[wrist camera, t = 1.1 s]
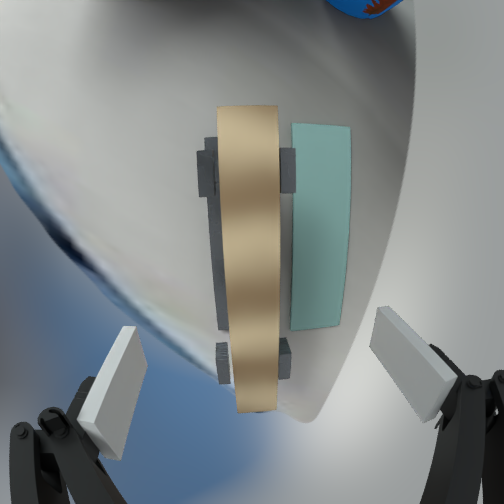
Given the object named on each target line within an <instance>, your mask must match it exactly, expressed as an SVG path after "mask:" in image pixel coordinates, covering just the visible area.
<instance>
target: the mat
mask: <svg viewBox="0 0 504 504" xmlns="http://www.w3.org/2000/svg"><path fill="white" fill-rule="evenodd" d="M291 135H292V148H296V193H293V236H292V286H291V314H290V330H291V331H297V330H306V329H314V328H322V327H329V326H336V325H339V323H340V316H341V308H342V300H343V292H344V283H345V274H346V263H347V251H348V238H349V221H350V196H351V136H350V127H344V126H333V125H319V124H301V123H292V124H291Z"/></svg>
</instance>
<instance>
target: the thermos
mask: <svg viewBox="0 0 504 504" xmlns="http://www.w3.org/2000/svg"><path fill="white" fill-rule="evenodd" d="M326 1H327V2H329V3H330V4H331V5H332V6H334V7H335V8H336V9H338V10H340V11H342V12H344V13H346V14H348V15H351V16H354V17H357V18H360V19H372V18H375V17H378V16H380V15H382V14H383V13H385V12H386V11H388V10H390V9H391V8H393V7H394V6H396V5H397V4H399V3H400V2H401V1H403V0H326Z"/></svg>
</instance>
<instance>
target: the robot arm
mask: <svg viewBox="0 0 504 504" xmlns="http://www.w3.org/2000/svg"><path fill="white" fill-rule="evenodd" d="M369 347H370V348H371V350H372V351H373V352H374V354H375V355H376V356H377V358H378V359H379V361H380V362H381V363H382V365H383V366H384V368H385V369H386V370H387V372H388V373H389V375H390V376H391V377H392V379H393V380H394V382H395V383H396V385H397V386H398V387H399V389H400V390H401V392H402V393H403V395H404V396H405V398H406V399H407V400H408V402H409V403H410V405H411V406H412V408H413V409H414V411H415V412H416V414H417V415H418V417H419V418H420V419H421V421H422V423H425V422H427V421H429V420H431V419H434V418H435V417H436V415H437V414H438V412H439V410H441V411H442V413H443V415H442V416H441V418H440V419H439V421H438V423H437V424H436V426H435V429H436V428H437V427H438V425H439V424H440V425H439V432H438V437H437V442H436V447H435V452H434V456H433V460H432V464H431V468H430V472H429V476H428V479H427V483H426V486H425V489H424V492H423V495H422V499H421V501H420V504H477V501H478V496H479V490H480V484H481V478H482V488H483V504H504V370H497V371H496V372H495V373H494V375H493V377H492V378H491V379H488V380H481V379H480V378H479V377H477V376H474V375H467V376H466V375H465V374H464V373H463V372H462V371H461V370H460V369H459V368H458V367H457V366H456V365H455V364H454V363H453V362H452V361H451V360H449V358H448V357H447V356H446V355H445V354H444V353H443V352H442V351H441V350H440V349H439V348H438V347H436V346H434V345H432V344H430V345H428V344H427V343H426V342H425V341H424V340H423V339H422V338H421V337H420V336H419V335H418V334H417V333H416V332H415V331H414V330H413V329H412V328H411V327H410V326H409V325H408V324H407V323H406V322H405V321H404V320H402V318H400V316H398V315H397V314H396V313H395V312H394V311H393V310H392V309H391V308H390V307H389V306H385V307H378V308H377V313H376V318H375V323H374V328H373V333H372V337H371V342H370V346H369ZM147 367H148V365H147V362H146V359H145V355H144V352H143V349H142V345H141V342H140V338H139V335H138V331H137V327H136V326H123V328H122V330H121V331H120V333H119V335H118V337H117V339H116V341H115V342H114V345H113V346H112V348H111V350H110V352H109V354H108V356H107V358H106V359H105V361H104V364H103V365H102V367H101V369H100V371H99V373H98V375H97V377H91V376H89V377H88V378H86V380H84V381H83V382H82V383H81V385H80V387H79V389H78V392H77V393H76V395H75V398H74V399H73V401H72V403H71V405H70V407H69V409H68V411H67V413H66V415H65V414H64V412H63V411H62V410H61V409H59V408H56V407H50V408H47V409H45V410H43V411H42V412H41V413H40V415H39V417H38V424H39V426H40V427H41V429H42V430H34V429H33V427H32V426H31V425H30V424H29V423H27V422H20V423H17V424H16V425H14V427H13V428H12V430H11V434H10V454H9V455H10V456H9V457H10V458H9V459H10V460H9V467H10V468H9V469H10V492H11V501H12V502H11V503H12V504H70V501H69V496H68V491H67V487H68V489H69V491H70V493H71V495H72V497H73V499H74V501H75V503H76V504H127V503H126V501H125V500H124V498H123V497H122V495H121V494H120V493H119V491H118V489H117V488H116V486H115V485H114V483H113V482H112V480H111V478H110V477H109V475H108V474H107V472H106V470H105V468H104V467H103V465H102V464H101V462H100V460H99V459H98V455H99V451H100V452H101V454H102V455H103V456H104V457H105V458H109V459H114V460H119V461H121V458H122V453H123V450H124V446H125V442H126V438H127V434H128V431H129V427H130V423H131V419H132V416H133V413H134V409H135V406H136V402H137V399H138V396H139V392H140V389H141V386H142V383H143V379H144V376H145V373H146V370H147ZM496 409H498V414H497V415H496V412H495V410H496ZM66 485H67V486H66Z"/></svg>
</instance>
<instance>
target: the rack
mask: <svg viewBox="0 0 504 504" xmlns="http://www.w3.org/2000/svg"><path fill="white" fill-rule="evenodd" d="M204 140H205V150H202V151H197V170H198V189H199V197H207V203H208V219H209V233H210V246H211V259H212V270H213V282H214V292H215V302H216V312H217V321H218V330H229V320H228V308H227V295H226V282H225V268H224V254H223V238H222V221H221V203H220V183H219V159H218V137H208V138H204ZM279 172H280V193H296V148H279ZM216 366H217V373H218V380H219V384H230V365H229V355H228V345H227V342H223V343H216ZM290 368H291V351H290V348H289V345H288V342H287V339H286V338H279V357H278V379H279V380H281V379H289V378H290Z"/></svg>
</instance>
